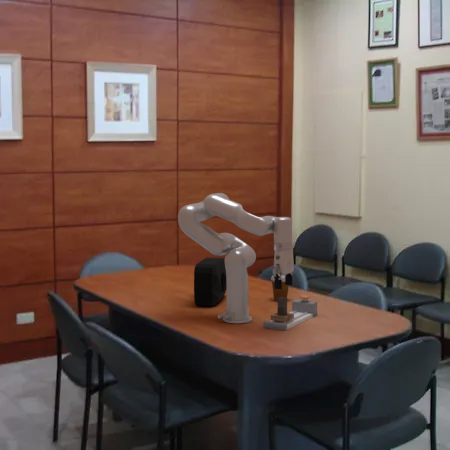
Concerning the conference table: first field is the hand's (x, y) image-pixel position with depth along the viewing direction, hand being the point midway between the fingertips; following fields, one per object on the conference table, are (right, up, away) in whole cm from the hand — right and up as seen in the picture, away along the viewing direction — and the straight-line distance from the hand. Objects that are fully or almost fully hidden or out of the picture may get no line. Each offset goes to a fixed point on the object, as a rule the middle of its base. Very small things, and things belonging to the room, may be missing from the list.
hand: (283, 286), depth 299 cm
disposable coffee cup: (+3, -11, +51) cm, 52 cm away
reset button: (+11, -8, +20) cm, 24 cm away
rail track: (+4, -16, +9) cm, 19 cm away
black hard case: (-30, -12, +49) cm, 59 cm away
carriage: (0, -14, +2) cm, 14 cm away
